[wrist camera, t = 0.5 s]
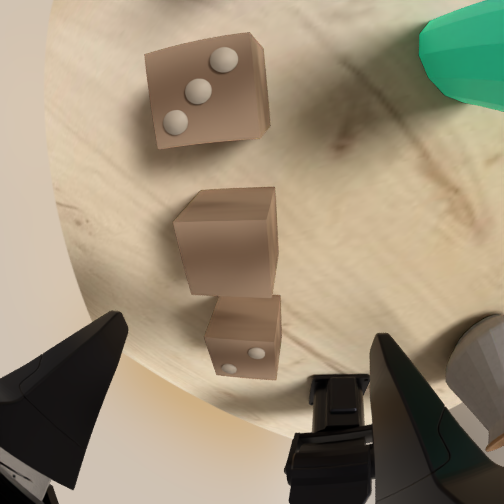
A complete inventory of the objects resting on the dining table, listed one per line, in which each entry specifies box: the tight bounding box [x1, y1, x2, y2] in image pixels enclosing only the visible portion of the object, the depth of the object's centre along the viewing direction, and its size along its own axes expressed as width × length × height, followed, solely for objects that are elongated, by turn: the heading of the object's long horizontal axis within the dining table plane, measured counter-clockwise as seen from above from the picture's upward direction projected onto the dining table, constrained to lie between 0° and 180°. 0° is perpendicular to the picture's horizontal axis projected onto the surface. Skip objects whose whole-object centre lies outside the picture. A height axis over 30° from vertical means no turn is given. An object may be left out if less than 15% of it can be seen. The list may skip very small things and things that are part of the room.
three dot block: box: [144, 32, 271, 150], centre depth 13 cm, size 5×5×5 cm
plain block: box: [173, 187, 279, 298], centre depth 18 cm, size 5×5×5 cm
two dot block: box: [204, 295, 282, 380], centre depth 22 cm, size 5×5×5 cm
